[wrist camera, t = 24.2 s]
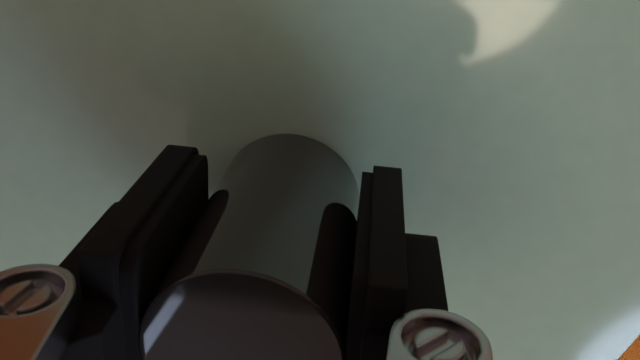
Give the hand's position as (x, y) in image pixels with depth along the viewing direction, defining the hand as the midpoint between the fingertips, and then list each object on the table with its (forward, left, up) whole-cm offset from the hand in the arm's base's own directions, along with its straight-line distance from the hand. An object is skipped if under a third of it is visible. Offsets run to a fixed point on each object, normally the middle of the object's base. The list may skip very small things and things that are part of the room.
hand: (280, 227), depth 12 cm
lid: (0, 0, -2) cm, 2 cm away
